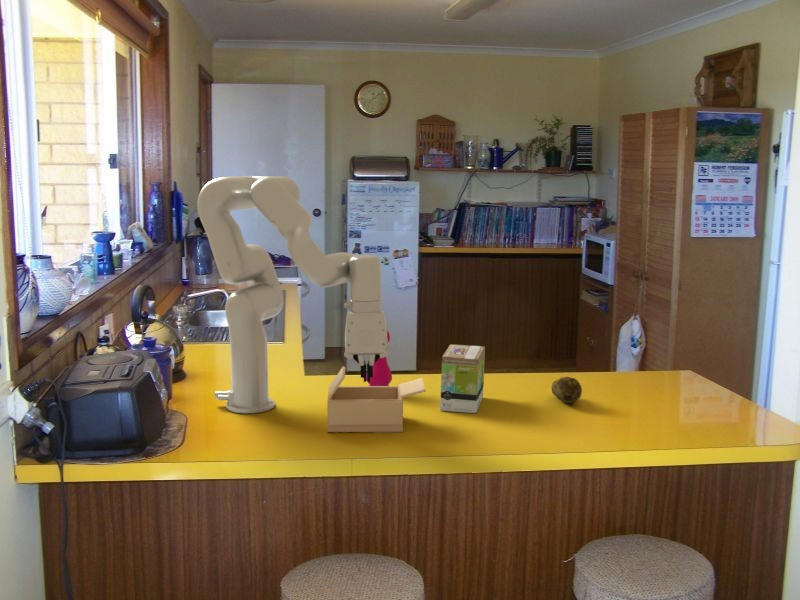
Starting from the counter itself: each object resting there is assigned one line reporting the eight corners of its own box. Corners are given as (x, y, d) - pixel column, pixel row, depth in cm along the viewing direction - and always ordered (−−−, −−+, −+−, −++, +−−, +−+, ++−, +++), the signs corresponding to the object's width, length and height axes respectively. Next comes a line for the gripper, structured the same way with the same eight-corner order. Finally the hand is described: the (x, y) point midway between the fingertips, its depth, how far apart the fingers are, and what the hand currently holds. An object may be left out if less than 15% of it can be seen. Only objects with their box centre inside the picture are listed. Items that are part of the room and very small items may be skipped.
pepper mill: (388, 397, 231) (389, 325, 227) (363, 395, 232) (363, 324, 229) (394, 389, 238) (394, 320, 234) (369, 388, 239) (369, 319, 236)
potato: (582, 397, 232) (583, 369, 230) (580, 411, 220) (582, 382, 218) (551, 395, 234) (552, 367, 232) (548, 409, 222) (549, 379, 220)
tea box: (477, 414, 217) (479, 358, 214) (439, 411, 219) (440, 356, 216) (484, 397, 232) (485, 344, 229) (447, 395, 234) (448, 342, 231)
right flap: (400, 395, 202) (425, 389, 202) (399, 384, 212) (422, 377, 212) (401, 398, 202) (425, 391, 202) (399, 386, 212) (422, 380, 212)
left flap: (331, 386, 211) (345, 367, 211) (330, 398, 202) (344, 378, 201) (329, 385, 211) (343, 365, 211) (328, 396, 201) (342, 376, 201)
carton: (327, 433, 201) (327, 401, 200) (329, 416, 214) (329, 385, 213) (402, 433, 202) (403, 400, 201) (400, 415, 215) (400, 385, 214)
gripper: (333, 310, 199) (335, 385, 202) (397, 308, 200) (398, 383, 203) (334, 304, 206) (336, 377, 209) (395, 303, 207) (396, 375, 210)
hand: (366, 380), depth 206 cm, fingers closed
